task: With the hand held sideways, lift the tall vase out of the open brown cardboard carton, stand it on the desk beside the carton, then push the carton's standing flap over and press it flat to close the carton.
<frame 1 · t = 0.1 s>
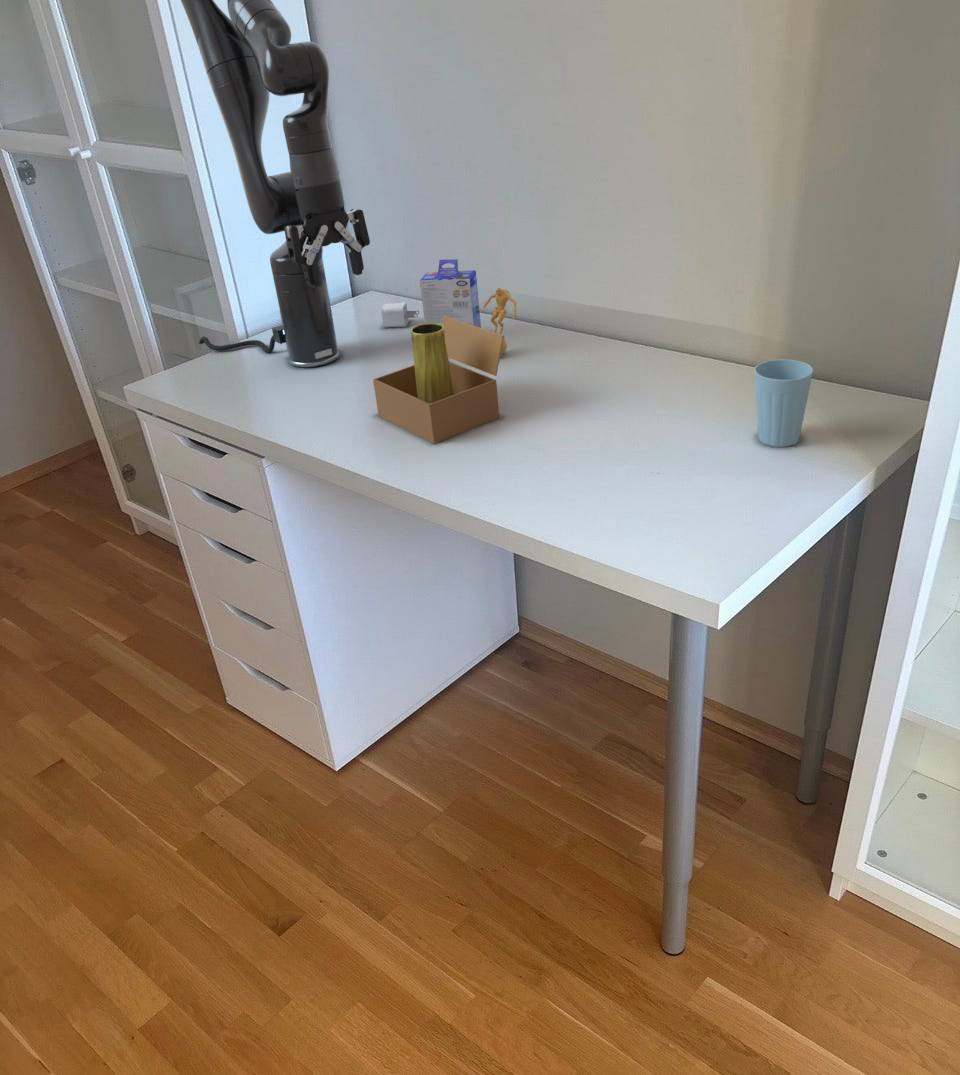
hand: (336, 280, 168), 17 cm above the table, tool pointing down, fingers open, 8 cm apart
cup: (778, 440, 140), on the table
flap: (469, 344, 156), point 10 cm above the table, hinge at 110.0°
usb wall charger: (402, 325, 199), on the table
figurine: (500, 355, 179), on the table
carton: (438, 416, 157), on the table
vase: (437, 416, 157), resting on carton
ink cartridge box: (454, 338, 189), on the table
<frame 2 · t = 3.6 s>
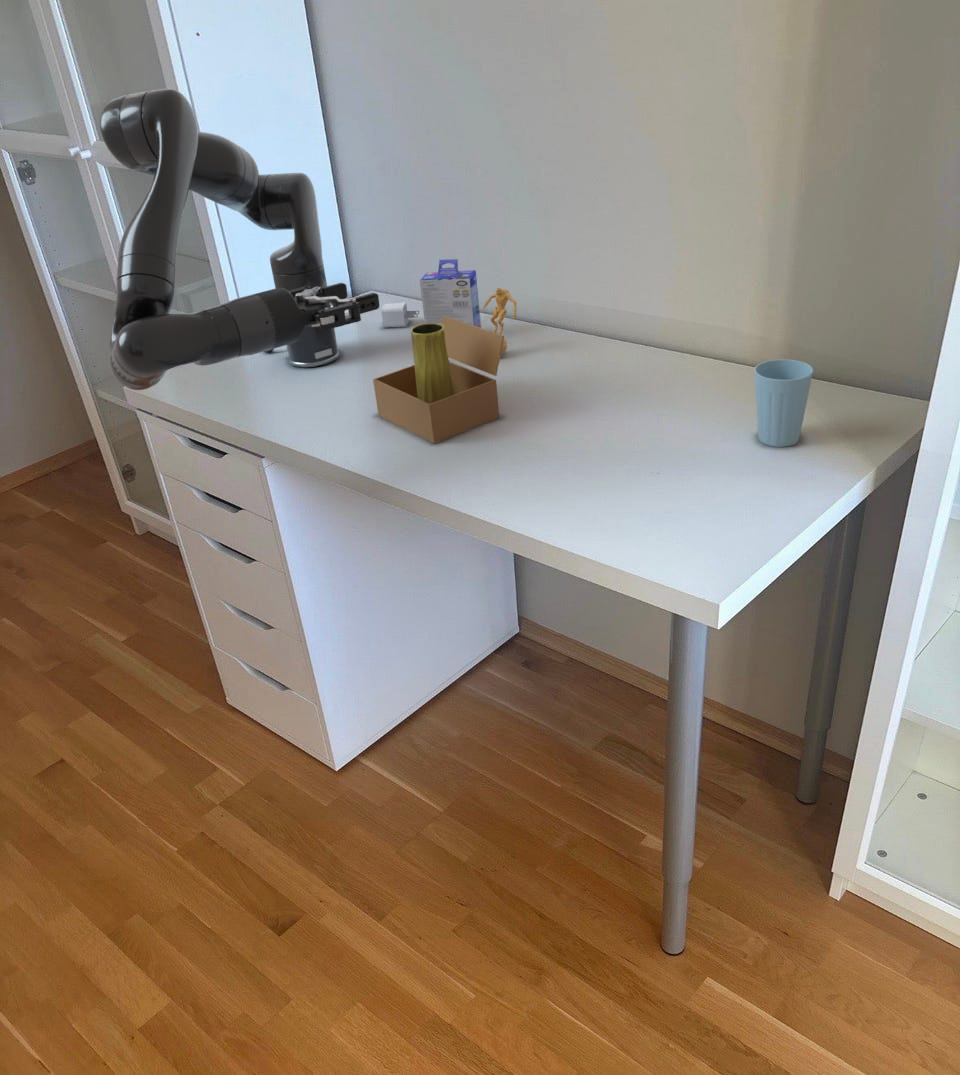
hand: (361, 294, 141), 22 cm above the table, tool horizontal, fingers open, 8 cm apart
nothing on the table moved.
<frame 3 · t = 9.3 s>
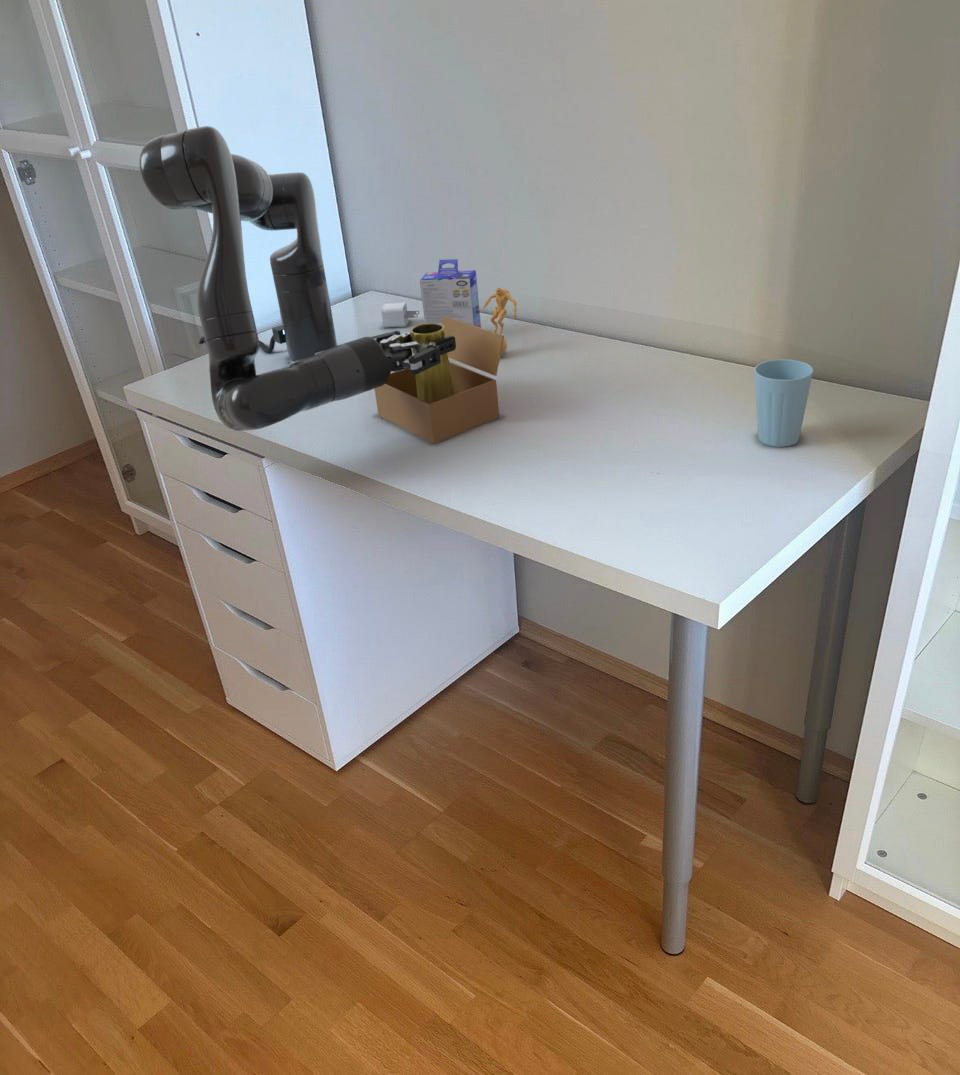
hand: (442, 338, 152), 12 cm above the table, tool horizontal, fingers closed on vase, 5 cm apart
vase: (437, 416, 157), resting on carton, touching gripper
everything else where it was.
when the fingers open (12 cm above the table, at t = 17.5 s): vase stays where it is, on the table.
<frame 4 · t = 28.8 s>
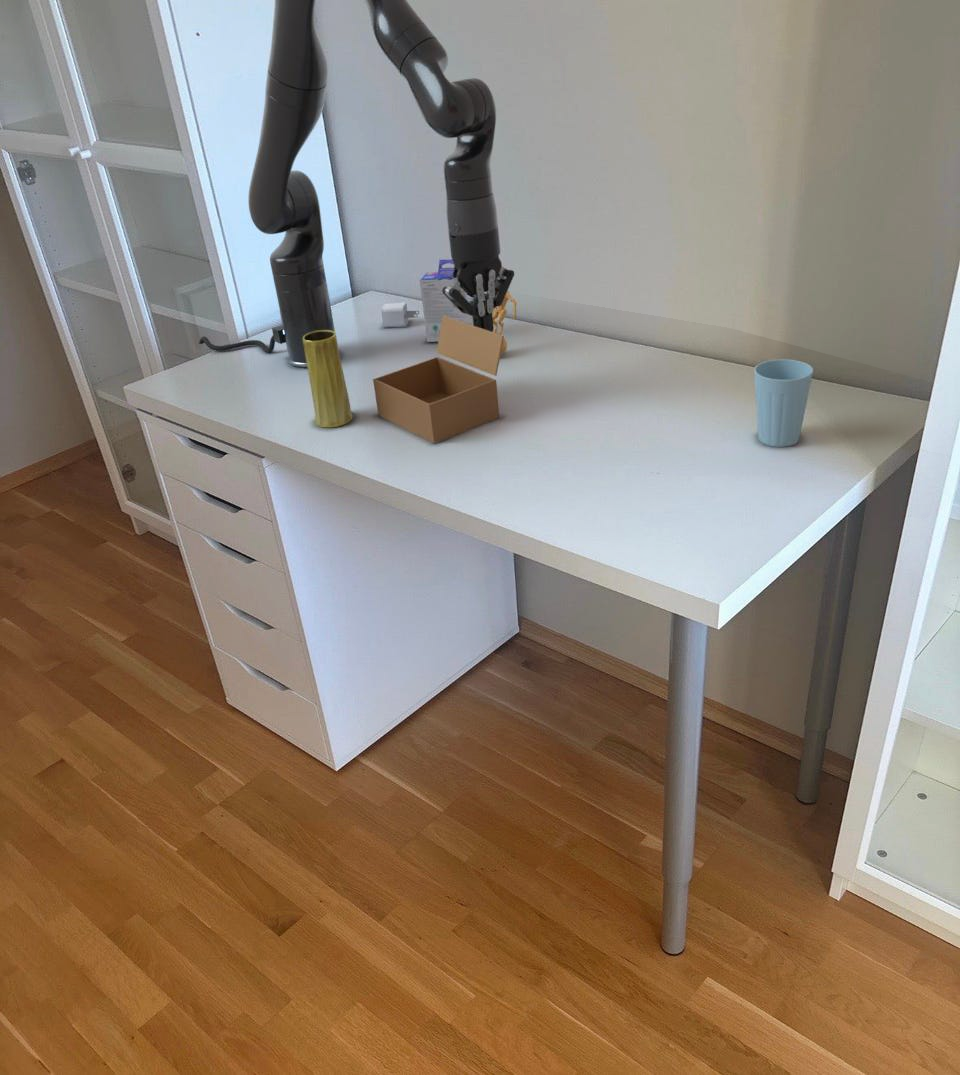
hand: (484, 336, 157), 10 cm above the table, tool pointing down, fingers closed
flap: (468, 344, 156), point 10 cm above the table, hinge at 109.7°, touching gripper
vase: (334, 421, 160), on the table
everything else where it was.
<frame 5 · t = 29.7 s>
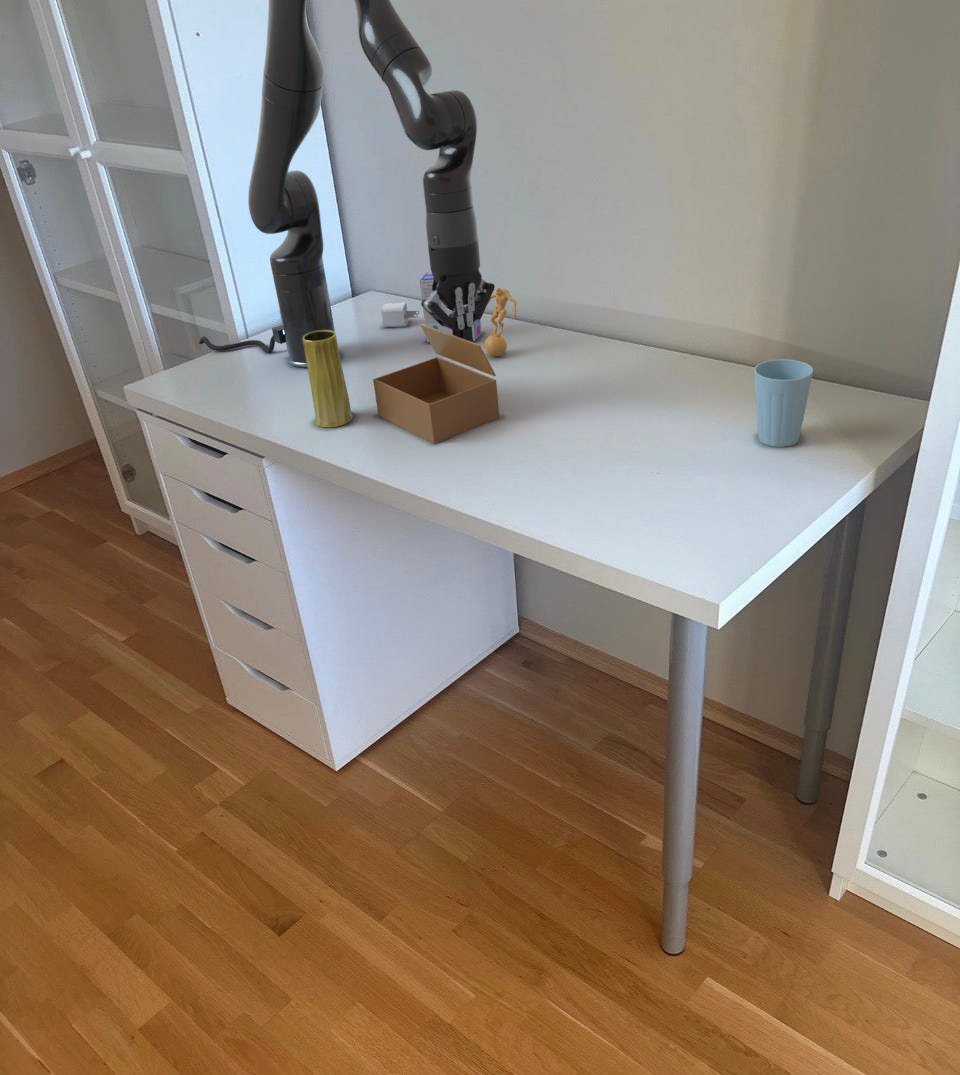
hand: (464, 349, 156), 9 cm above the table, tool pointing down, fingers closed
flap: (457, 349, 155), point 10 cm above the table, hinge at 66.0°, touching gripper
everything else where it was.
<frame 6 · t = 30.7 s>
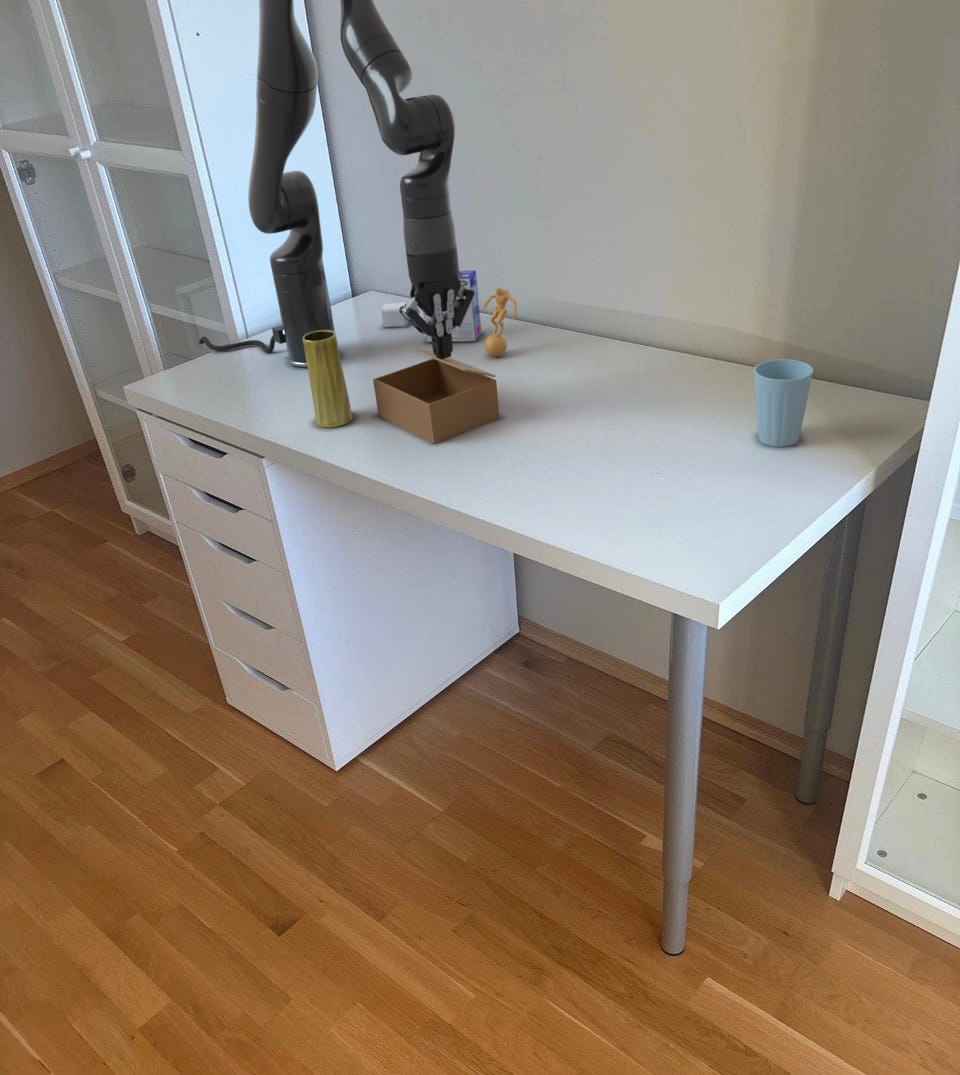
hand: (443, 356, 154), 9 cm above the table, tool pointing down, fingers closed
flap: (450, 361, 155), point 8 cm above the table, hinge at 25.9°, touching gripper
everything else where it was.
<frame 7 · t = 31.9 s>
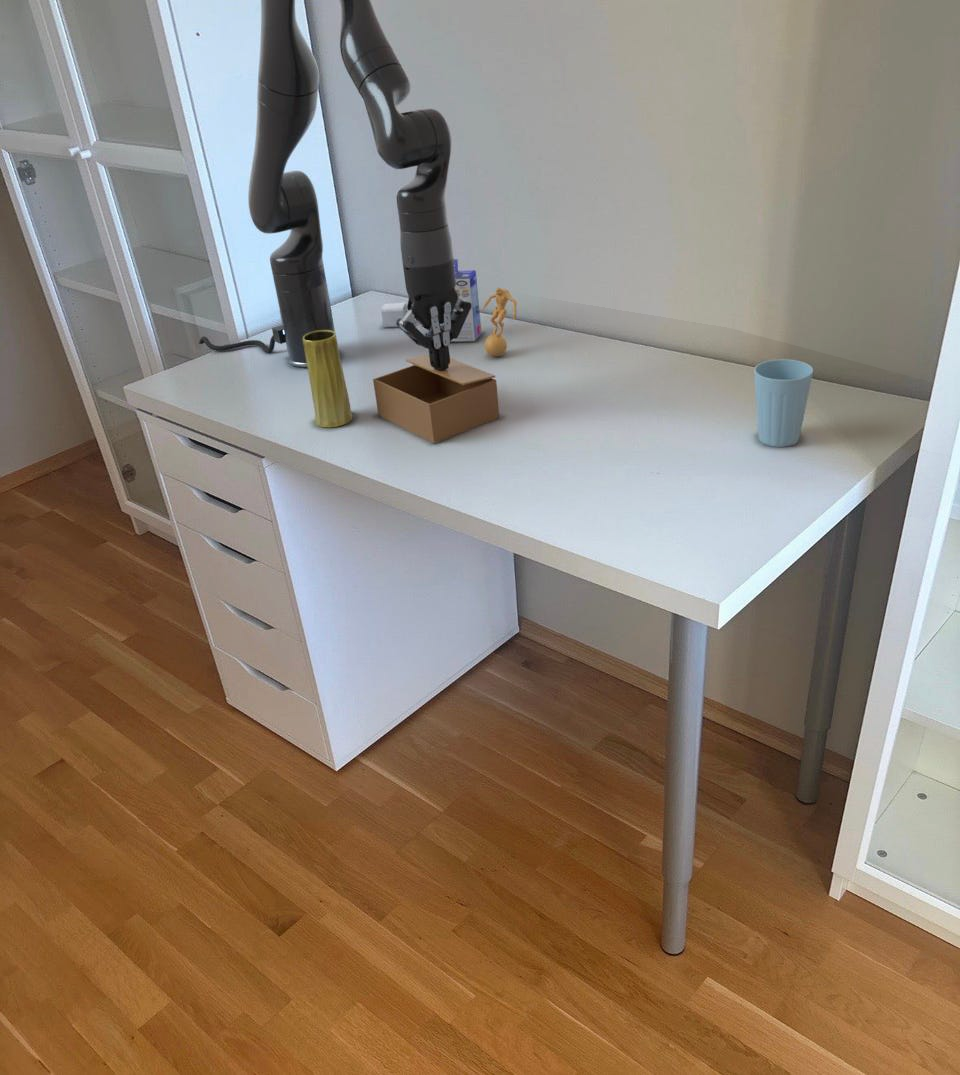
hand: (440, 368, 154), 8 cm above the table, tool pointing down, fingers closed
flap: (449, 368, 155), point 7 cm above the table, hinge at 6.1°, touching gripper
everything else where it was.
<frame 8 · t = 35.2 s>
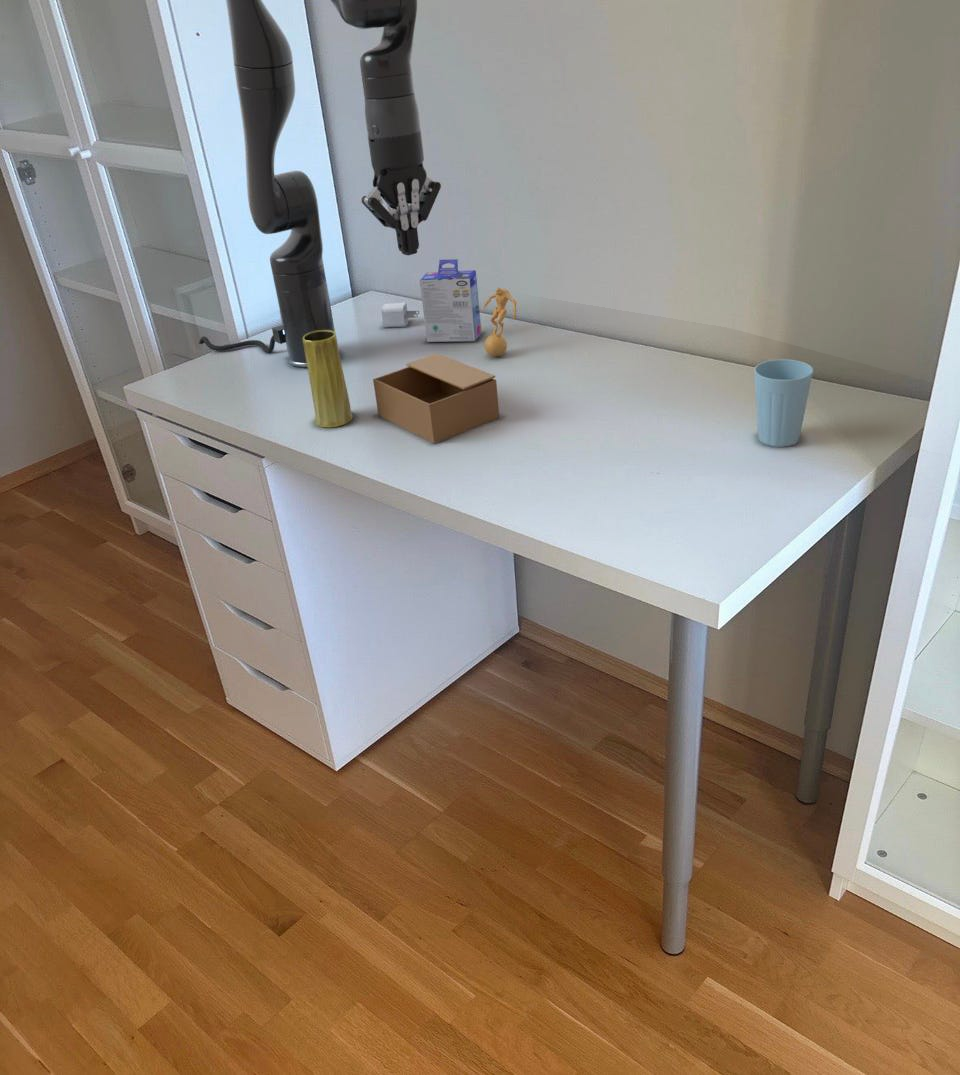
hand: (409, 253, 148), 25 cm above the table, tool pointing down, fingers closed
flap: (449, 370, 155), point 7 cm above the table, hinge at -0.5°
everything else where it was.
at the end: vase inside the target area (0.2 cm from its centre), on the table; vase tilted 0°; flap at +0° (first picture: +110°) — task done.
